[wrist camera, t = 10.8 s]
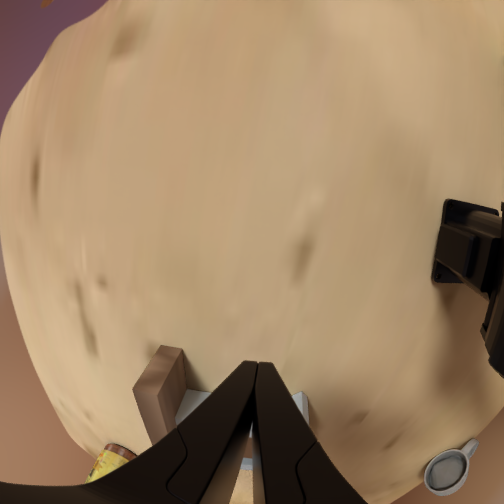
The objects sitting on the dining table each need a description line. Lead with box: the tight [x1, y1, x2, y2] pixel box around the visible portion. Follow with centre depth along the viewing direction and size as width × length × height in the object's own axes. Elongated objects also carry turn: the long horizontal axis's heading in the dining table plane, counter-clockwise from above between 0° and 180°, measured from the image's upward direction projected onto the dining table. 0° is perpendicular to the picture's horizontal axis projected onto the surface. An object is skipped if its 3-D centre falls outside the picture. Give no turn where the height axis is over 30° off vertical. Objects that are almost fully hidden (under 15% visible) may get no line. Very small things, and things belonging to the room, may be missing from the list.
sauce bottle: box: [84, 444, 137, 484], centre depth 21 cm, size 6×6×20 cm
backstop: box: [132, 345, 187, 445], centre depth 22 cm, size 2×18×6 cm, turn 178°
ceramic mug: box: [424, 438, 479, 496], centre depth 22 cm, size 11×8×8 cm
